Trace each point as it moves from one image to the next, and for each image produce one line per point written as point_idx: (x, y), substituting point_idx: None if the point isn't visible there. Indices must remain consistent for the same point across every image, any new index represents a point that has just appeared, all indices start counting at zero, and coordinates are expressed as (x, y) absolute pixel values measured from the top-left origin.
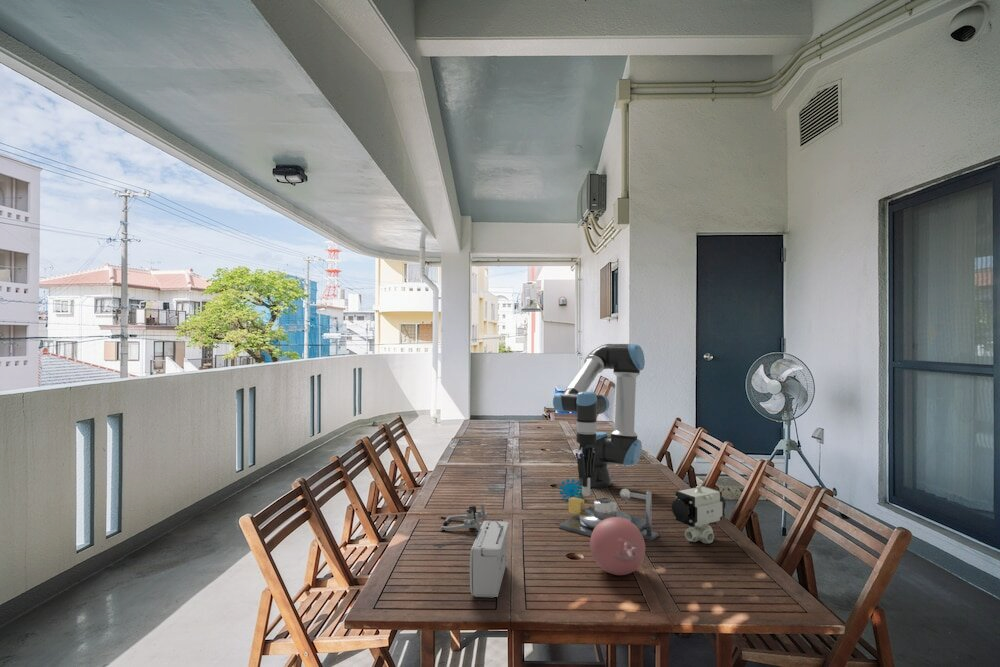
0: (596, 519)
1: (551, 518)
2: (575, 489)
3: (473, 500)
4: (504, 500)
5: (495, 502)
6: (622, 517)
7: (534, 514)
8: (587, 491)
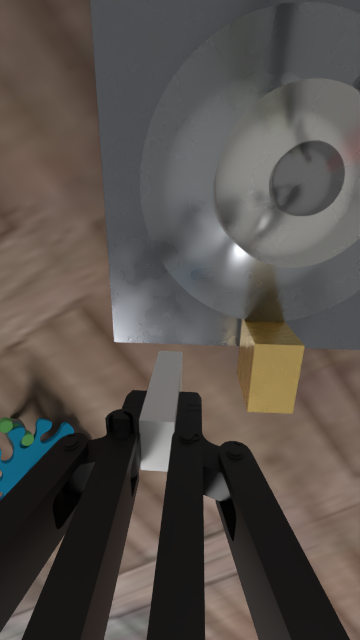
0: None
1: (300, 409)
2: (25, 461)
3: None
4: (219, 578)
5: None
6: (245, 84)
7: (291, 468)
8: (181, 369)
